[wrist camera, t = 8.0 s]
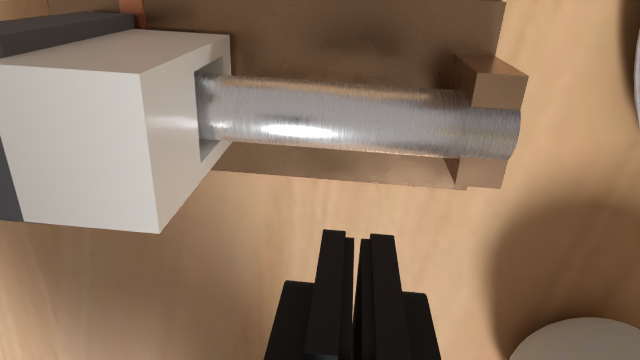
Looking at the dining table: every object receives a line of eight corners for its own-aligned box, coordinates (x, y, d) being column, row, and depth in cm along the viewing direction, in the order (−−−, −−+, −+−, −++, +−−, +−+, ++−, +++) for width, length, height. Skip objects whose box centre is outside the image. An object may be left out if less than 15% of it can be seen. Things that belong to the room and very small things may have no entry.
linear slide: (502, 1, 21) (552, 10, 16) (464, 185, 25) (492, 244, 20) (49, -24, 23) (-53, -25, 17) (84, 155, 27) (12, 201, 21)
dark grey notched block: (149, 143, 25) (46, 224, 17) (107, 140, 25) (-15, 218, 17) (132, 13, 22) (-2, 35, 14) (85, 11, 22) (-75, 30, 14)
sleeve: (233, 140, 24) (159, 233, 15) (146, 133, 25) (24, 221, 16) (229, 35, 22) (139, 74, 13) (132, 28, 22) (-21, 62, 13)
